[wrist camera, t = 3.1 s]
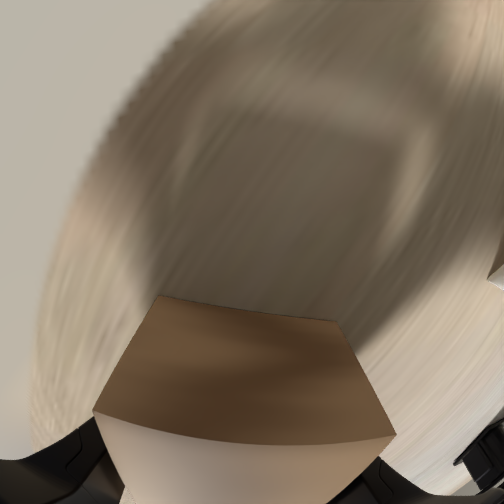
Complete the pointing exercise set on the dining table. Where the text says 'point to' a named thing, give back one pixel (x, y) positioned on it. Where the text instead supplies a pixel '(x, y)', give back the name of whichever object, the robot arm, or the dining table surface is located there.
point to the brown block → (238, 409)
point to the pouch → (497, 278)
